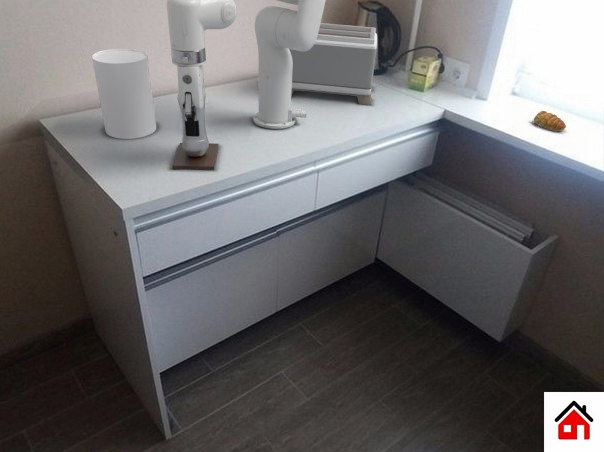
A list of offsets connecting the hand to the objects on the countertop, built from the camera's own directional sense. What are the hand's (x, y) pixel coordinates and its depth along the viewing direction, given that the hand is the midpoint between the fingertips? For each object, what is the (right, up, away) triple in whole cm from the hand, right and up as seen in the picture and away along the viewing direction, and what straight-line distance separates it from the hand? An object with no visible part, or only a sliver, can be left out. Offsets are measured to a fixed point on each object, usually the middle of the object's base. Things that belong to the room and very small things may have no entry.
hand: (194, 130), depth 121 cm
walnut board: (0, -6, +4) cm, 7 cm away
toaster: (+34, +23, +51) cm, 65 cm away
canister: (-21, +4, +17) cm, 27 cm away
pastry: (+104, +8, +35) cm, 110 cm away
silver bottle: (0, -5, +4) cm, 7 cm away
